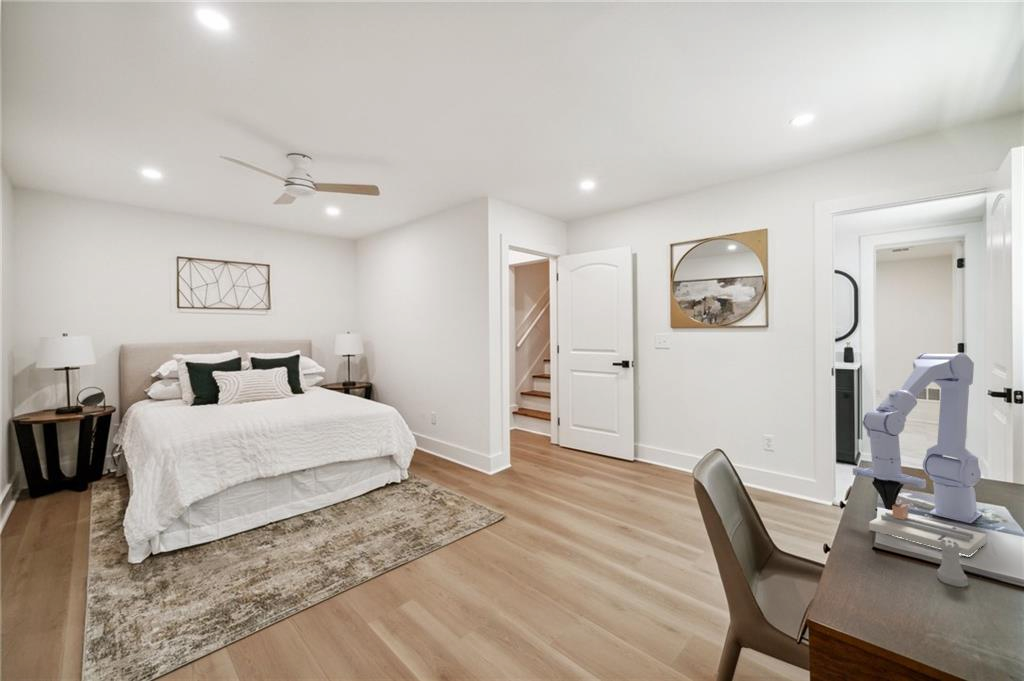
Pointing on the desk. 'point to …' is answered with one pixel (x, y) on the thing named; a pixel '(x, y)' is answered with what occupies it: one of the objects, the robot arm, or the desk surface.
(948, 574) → the rook chess piece
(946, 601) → the desk surface
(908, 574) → the desk surface
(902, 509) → the fader
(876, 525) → the white slider track board
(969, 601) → the desk surface
